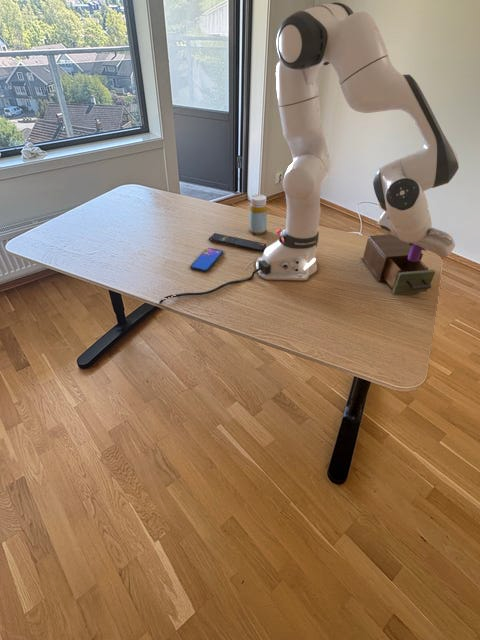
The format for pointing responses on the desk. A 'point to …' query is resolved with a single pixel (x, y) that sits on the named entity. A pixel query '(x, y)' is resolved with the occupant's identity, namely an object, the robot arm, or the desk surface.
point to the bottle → (258, 214)
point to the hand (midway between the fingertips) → (418, 245)
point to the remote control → (238, 242)
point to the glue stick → (414, 253)
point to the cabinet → (384, 252)
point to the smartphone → (206, 260)
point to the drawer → (407, 276)
